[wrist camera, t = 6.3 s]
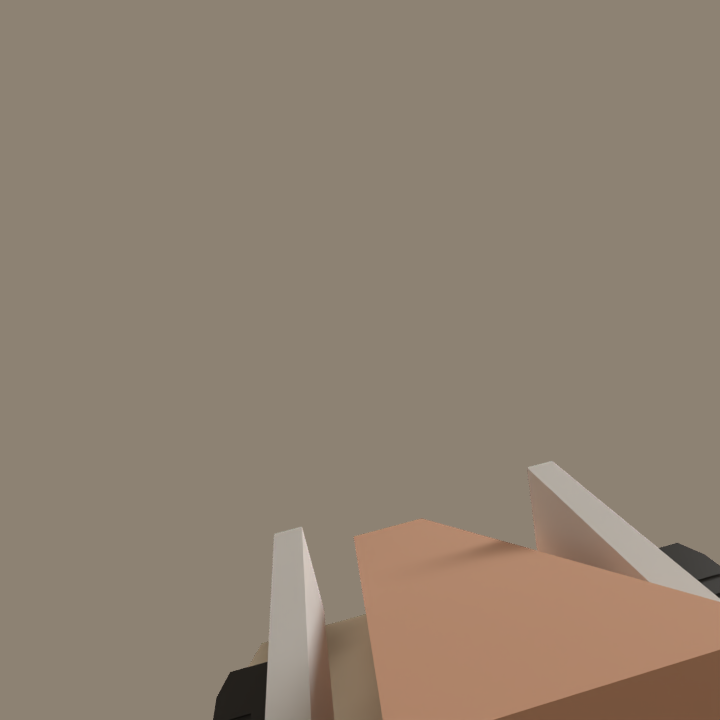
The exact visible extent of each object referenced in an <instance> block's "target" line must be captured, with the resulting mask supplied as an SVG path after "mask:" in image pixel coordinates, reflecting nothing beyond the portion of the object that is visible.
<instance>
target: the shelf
mask: <svg viewBox="0 0 720 720" xmlns="http://www.w3.org/2000/svg"><path fill="white" fill-rule="evenodd" d="M325 627H326V637H327V648H328V658H329V668H330V679H331V689H332V699H333V710H334V720H383V717H382V711H381V705H380V698H379V692H378V686H377V680H376V673H375V667H374V661H373V654H372V648H371V642H370V635H369V629H368V623H367V617H366V614H364V615H361V616H357V617H354V618H350V619H346V620H343V621H340V622H336V623H332V624H329V625H325ZM268 647H269V642H265V643H262V644H261V646H260V648H259V649H258V651H257V653H256V654H255V656H254V658H253V660H252V661H251V663H250V665H249V666H248V667H250V666H254V665H257V664H261V663H264V662H268Z"/></svg>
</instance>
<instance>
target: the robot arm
mask: <svg viewBox="0 0 720 720" xmlns="http://www.w3.org/2000/svg"><path fill="white" fill-rule="evenodd" d="M527 472H528V480H529V487H530V496H531V504H532V512H533V521H534V529H535V536H536V545H537V550H538V551H540V552H544V553H547V554H551V555H554V556H558V557H561V558H565V559H569V560H572V561H576V562H579V563H583V564H586V565H590V566H594V567H597V568H601V569H604V570H608V571H611V572H615V573H619V574H622V575H626V576H629V577H633V578H636V579H640V580H644V581H647V582H651V583H654V584H658V585H661V586H665V587H669V588H672V589H676V590H679V591H683V592H686V593H690V594H694V595H697V596H701V597H704V598H708V599H711V600H715V601H719V602H720V566H719V565H718V564H716V563H715V562H714V561H713V560H711V559H710V558H708V557H707V556H706V555H704V554H702V553H700V552H697V551H695V550H693V549H690V548H688V547H686V546H683V545H681V544H679V543H675V544H672V545H668V546H665V547H661V548H657V547H656V546H655V545H654V544H653V543H651V542H650V541H649V540H648V539H647V538H645V537H644V536H643V535H642V534H641V533H639V532H638V531H637V530H636V529H634V528H633V527H632V526H631V525H630V524H628V523H627V522H626V521H625V520H623V519H622V518H621V517H620V516H619V515H617V514H616V513H615V512H614V511H612V510H611V509H610V508H609V507H608V506H606V505H605V504H604V503H603V502H602V501H600V500H599V499H598V498H597V497H595V496H594V495H593V494H592V493H591V492H589V491H588V490H587V489H586V488H584V487H583V486H582V485H581V484H580V483H578V482H577V481H576V480H575V479H573V478H572V477H571V476H570V475H569V474H567V473H566V472H565V471H564V470H563V469H561V468H560V467H559V466H558V465H556V464H555V463H554V462H553V461H550V462H546V463H543V464H539V465H535V466H531V467H528V468H527ZM269 629H270V630H269V647H268V662H264V663H261V664H257V665H254V666H250V667H247V668H243V669H240V670H236V671H233V672H230V674H229V675H228V678H227V679H226V681H225V683H224V685H223V687H222V689H221V691H220V692H219V694H218V696H217V699H216V705H215V712H214V718H213V720H334V710H333V699H332V689H331V679H330V668H329V658H328V648H327V637H326V627H325V617H324V608H323V604H322V601H321V597H320V593H319V589H318V585H317V582H316V578H315V574H314V570H313V567H312V563H311V560H310V556H309V552H308V548H307V544H306V541H305V537H304V533H303V529H302V527H299V528H295V529H291V530H287V531H283V532H280V533H276V534H274V548H273V567H272V587H271V607H270V627H269Z"/></svg>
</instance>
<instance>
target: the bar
mask: <svg viewBox="0 0 720 720" xmlns="http://www.w3.org/2000/svg"><path fill="white" fill-rule="evenodd" d="M354 541H355V547H356V554H357V560H358V566H359V573H360V579H361V585H362V591H363V598H364V604H365V610H366V617H367V623H368V629H369V635H370V642H371V648H372V654H373V661H374V667H375V673H376V680H377V686H378V692H379V698H380V705H381V711H382V717H383V720H720V602H719V601H715V600H711V599H708V598H704V597H701V596H697V595H694V594H690V593H686V592H683V591H679V590H676V589H672V588H669V587H665V586H661V585H658V584H654V583H651V582H647V581H644V580H640V579H636V578H633V577H629V576H626V575H622V574H619V573H615V572H611V571H608V570H604V569H601V568H597V567H594V566H590V565H586V564H583V563H579V562H576V561H572V560H569V559H565V558H561V557H558V556H554V555H551V554H547V553H544V552H540V551H536V550H533V549H529V548H526V547H522V546H518V545H515V544H511V543H508V542H504V541H500V540H497V539H493V538H490V537H486V536H483V535H479V534H475V533H472V532H469V531H465V530H461V529H458V528H454V527H450V526H447V525H444V524H440V523H436V522H433V521H429V520H426V519H422V518H421V519H418V520H414V521H410V522H406V523H403V524H399V525H395V526H391V527H388V528H384V529H380V530H376V531H373V532H369V533H365V534H361V535H358V536H354Z"/></svg>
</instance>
